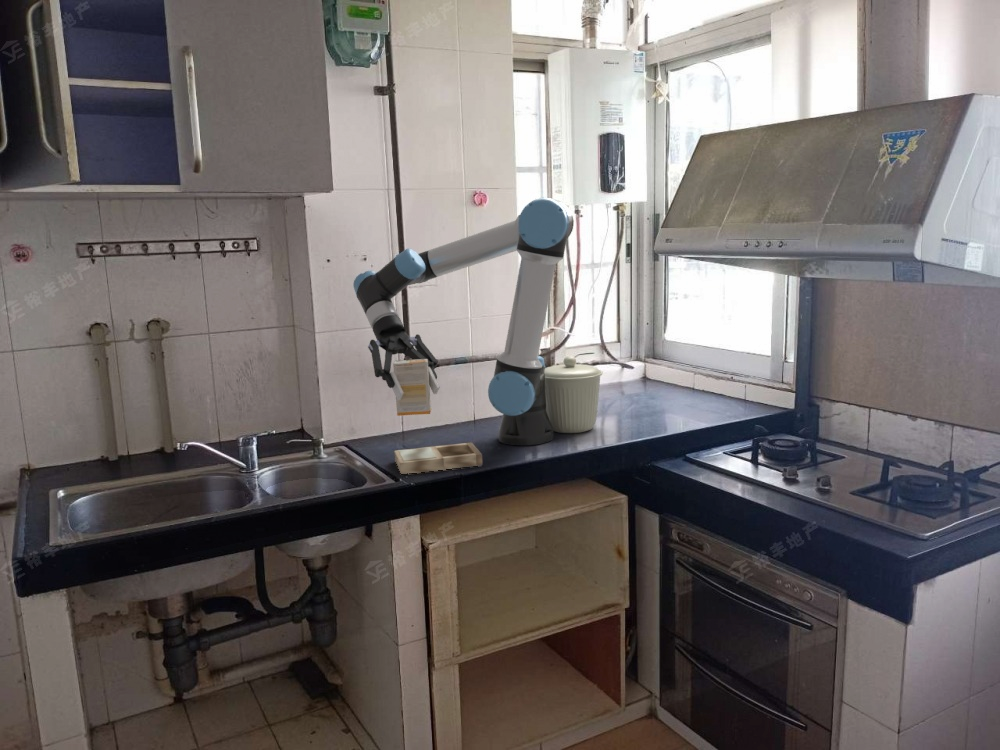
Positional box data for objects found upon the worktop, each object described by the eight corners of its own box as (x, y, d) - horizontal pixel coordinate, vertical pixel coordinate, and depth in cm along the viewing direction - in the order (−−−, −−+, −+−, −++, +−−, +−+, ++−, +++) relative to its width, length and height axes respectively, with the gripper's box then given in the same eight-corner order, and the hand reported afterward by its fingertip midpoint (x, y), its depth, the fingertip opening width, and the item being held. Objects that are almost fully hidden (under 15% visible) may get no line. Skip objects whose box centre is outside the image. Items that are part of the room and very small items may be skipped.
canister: (528, 428, 231) (525, 356, 228) (581, 419, 239) (579, 349, 236) (561, 440, 215) (559, 363, 212) (616, 430, 224) (615, 356, 220)
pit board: (472, 453, 207) (471, 441, 206) (482, 466, 195) (481, 453, 195) (395, 462, 202) (394, 449, 202) (400, 475, 191) (400, 462, 190)
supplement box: (431, 410, 198) (428, 358, 196) (430, 414, 193) (427, 361, 191) (398, 411, 198) (395, 359, 196) (396, 416, 193) (392, 362, 191)
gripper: (419, 328, 211) (453, 396, 200) (342, 337, 199) (373, 409, 189) (428, 309, 205) (463, 378, 195) (349, 317, 194) (381, 390, 183)
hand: (419, 393), depth 192 cm, fingers closed on supplement box, 9 cm apart
